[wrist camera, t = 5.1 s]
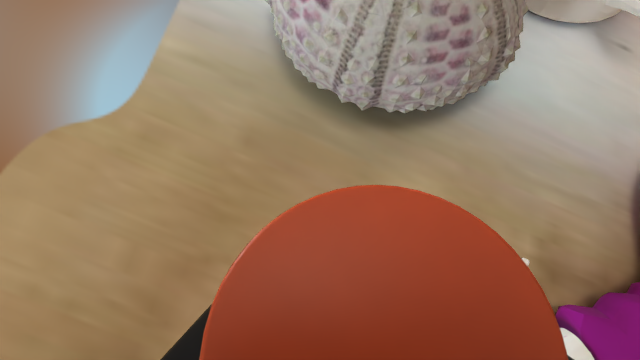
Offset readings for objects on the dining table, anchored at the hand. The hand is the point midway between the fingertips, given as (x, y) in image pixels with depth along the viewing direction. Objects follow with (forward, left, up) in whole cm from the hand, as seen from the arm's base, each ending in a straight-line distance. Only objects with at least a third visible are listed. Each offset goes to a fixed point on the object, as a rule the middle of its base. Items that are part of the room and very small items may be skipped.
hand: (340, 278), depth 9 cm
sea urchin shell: (+10, -12, -9) cm, 18 cm away
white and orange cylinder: (-1, +1, -7) cm, 7 cm away
